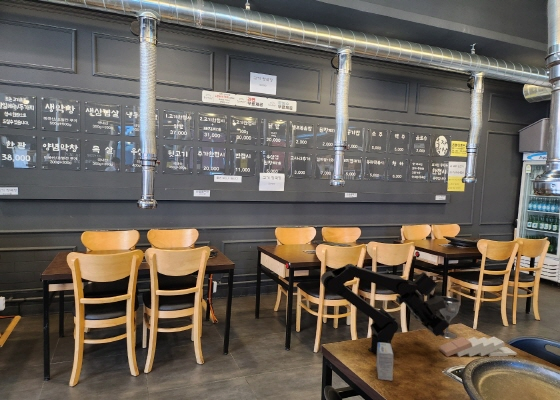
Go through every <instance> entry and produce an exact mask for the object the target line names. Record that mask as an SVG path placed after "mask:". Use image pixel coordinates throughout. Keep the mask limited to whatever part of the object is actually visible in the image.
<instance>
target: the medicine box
mask: <svg viewBox="0 0 560 400" xmlns="http://www.w3.org/2000/svg"><path fill="white" fill-rule="evenodd" d="M392 348H393V347H392V343H391V344H389V343H381V342H378V343H377V355H376V364H375V365H376V372H377V379H378V380H382V381H390V382H392V381H393V380H394V379H393V378H394V377H393V376H394V375H393V372H394V351H393V349H392Z"/></svg>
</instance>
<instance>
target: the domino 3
mask: <svg viewBox="0 0 560 400" xmlns="http://www.w3.org/2000/svg"><path fill="white" fill-rule="evenodd" d="M477 339H478V340H480V341H481V342H483V345H484V347H482V348H480V349H477V350H475V351H472V352H470V353H468V354H466V355H467V356H468V357H469V358H470V357H473V356H476V355H479V354H478V353H481V352H483V351H485V350H488V349H490V348H492V347H495V346H494V343H493V342H492V341H490V340H489V338H487V337H486V336H483V337H481V338H477Z"/></svg>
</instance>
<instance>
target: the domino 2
mask: <svg viewBox="0 0 560 400" xmlns="http://www.w3.org/2000/svg"><path fill="white" fill-rule="evenodd" d="M478 339H479V338H477V337H475V336H472V337H470V338H468V339H467V340H468V341H470V342H471V344H472V347H470V348H468V349H465V350H463V351H460V352H458V353H455V354H454V355H456V356H457V357H459V358H460V357H462V356H465V355H467V354H468V353H470V352H472V351H475V350H477V349H480V348H482V347H484V345H483V342H481V341H480V340H478Z"/></svg>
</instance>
